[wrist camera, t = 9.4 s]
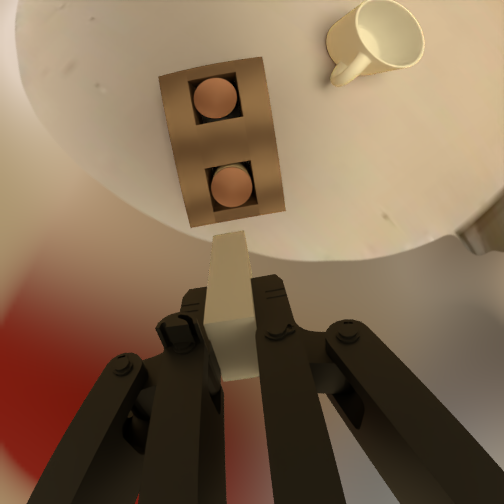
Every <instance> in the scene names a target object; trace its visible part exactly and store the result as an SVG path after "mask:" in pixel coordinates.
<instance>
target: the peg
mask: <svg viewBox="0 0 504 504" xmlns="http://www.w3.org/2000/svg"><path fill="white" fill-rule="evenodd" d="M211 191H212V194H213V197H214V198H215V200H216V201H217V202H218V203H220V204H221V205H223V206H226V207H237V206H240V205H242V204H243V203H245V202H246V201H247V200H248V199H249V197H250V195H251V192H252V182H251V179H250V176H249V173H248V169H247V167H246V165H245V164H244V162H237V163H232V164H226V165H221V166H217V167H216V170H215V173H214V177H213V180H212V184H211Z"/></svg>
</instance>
